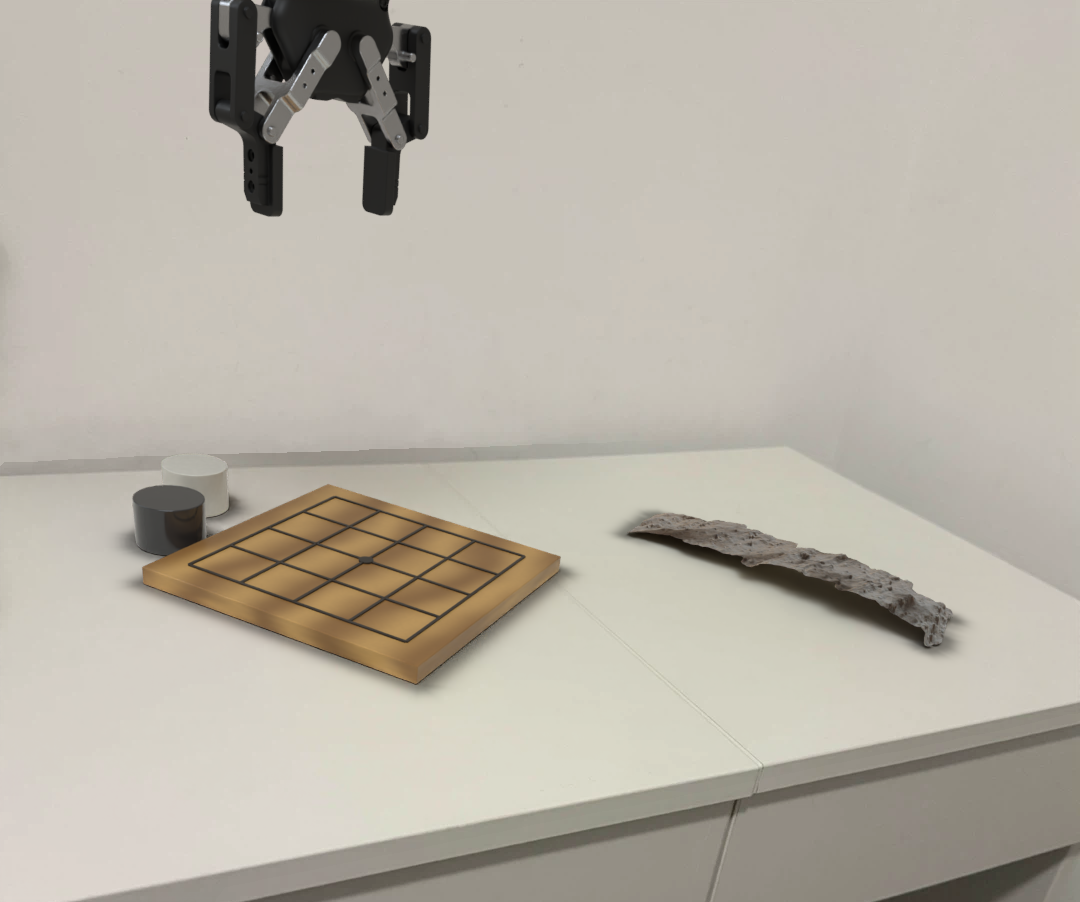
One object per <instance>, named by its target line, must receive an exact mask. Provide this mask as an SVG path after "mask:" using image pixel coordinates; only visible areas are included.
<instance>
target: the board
mask: <svg viewBox="0 0 1080 902" xmlns="http://www.w3.org/2000/svg"><path fill="white" fill-rule="evenodd" d="M561 558H562V557H561V555H558V554H554V553H551V552H547V551H544V550H541V549H538V548H534V547H532V546H529V545H525V544H522V543H519V542H516V541H512V540H509V539H506V538H502V537H499V536H496V535H493V534H490V533H487V532H483V531H480V530H477V529H474V528H471V527H467V526H464V525H461V524H458V523H456V522H455V523H454V522H452V521H448V520H446V519H442V518H438V517H435V516H433V515H429V514H426V513H423V512H420V511H416V510H414V509H410V508H406V507H403V506H400V505H397V504H394V503H390V502H387V501H384V500H381V499H378V498H375V497H371V496H368V495H365V494H362V493H359V492H355V491H353V490H349V489H346V488H342V487H339V486H337V485H333V484H329V483H327V484H325V485H323V486H321V487H318V488H316V489H314V490H311V491H310V492H307V493H305V494H303V495H300V496H298V497H296V498H293V499H291V500H289V501H287V502H284V503H282V504H280V505H278V506H276V507H273V508H270V509H268V510H267V511H264V512H261V513H260V514H258V515H255V516H253V517H251V518H248V519H247V520H244V521H241V522H240V523H237V524H235V525H233V526H231V527H228V528H226V529H223V530H222V531H219V532H217V533H215V534H213V535H211V536H208V537H207V538H206V539H204V540H201V541H199V542H197V543H195V544H192V545H190V546H188V547H186V548H183V549H181V550H179V551H177V552H174V553H172V554H170V555H168V556H167V555H164V556H163V557H161V558H159V559H157V560H155V561H152V562H150V563H147V564H145V565H142V566H141V570H142V583H143V584H144V585H146V586H149V587H151V588H154V589H157V590H160V591H162V592H165V593H168V594H170V595H173V596H175V597H179V598H181V599H184V600H186V601H190V602H192V603H195V604H198V605H200V606H203V607H206V608H208V609H211V610H214V611H216V612H219V613H222V614H224V615H227V616H230V617H232V618H235V619H239V620H241V621H244V622H246V623H249V624H252V625H255V626H257V627H260V628H263V629H266V630H268V631H271V632H272V633H276V634H279V635H282V636H285V637H287V638H290V639H292V640H295V641H298V642H300V643H303V644H307V645H309V646H311V647H315V648H316V649H320V650H322V651H324V652H328V653H331V654H333V655H336V656H339V657H342V658H344V659H347V660H349V661H352V662H355V663H358V664H359V665H360V664H361V665H363V666H366V667H369V668H371V669H374V670H376V671H380V672H382V673H385V674H388V675H391V676H393V677H395V678H399V679H401V680H403V681H405V682H409V683H412V684H415V685H417V684H419V683H420V682H421V681H422V680H423V679H425V678H426V677H428V675H430V674H431V673H432V672H434V670H436V669H437V668H438V667H440V666H441V665H442V664H444V663H445V662H446V661H448V659H450V658H451V657H453V656H454V655H455V654H456V653H458V651H460V650H462V649H463V648H464V647H465V646H466V645H468V644H469V643H470V642H471V641H473V640H474V639H475V638H476V637H478V636H479V635H480V634H481V633H483V632H484V631H485V630H487V629H488V628H489V627H490V626H491V625H493V624H494V623H495V622H496V621H498V620H499V619H501V618H502V617H503V616H504V615H506V613H508V612H509V611H511V610H512V609H513V608H514V607H515V606H516V605H518V604H519V603H520V602H522V601H523V600H524V599H525V598H527V597H528V596H529V595H531V594H532V593H533V592H534V591H536V590H537V589H538V588H539V587H541V586H542V585H543V584H544V583H546V582H547V581H548V580H549V579H551V578H552V577H553V576H555V575H556V574H557V573H558V572H559V571H560V565H561V560H562V559H561Z"/></svg>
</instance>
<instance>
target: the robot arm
mask: <svg viewBox="0 0 1080 902" xmlns="http://www.w3.org/2000/svg"><path fill="white" fill-rule="evenodd" d="M390 1H391V0H262V1H261V4H257V3H255V1H253V0H211V1H210V15H209V16H210V20H209V21H210V22H209V23H210V24H209V26H210V27H209V70H208V71H209V74H208V77H209V78H208V113H209V116H210V118H211V120H213V121H214V122H215V123H218V124H222V125H224V126H226V127H228V128H230V129H231V130H234V131H235V132H237V134H239V136H240V138H241V140H242V145H243V146H242V150H243V151H242V154H243V155H242V156H243V157H242V158H243V161H242V162H243V163H242V164H243V165H242V166H243V193H244V197H245V200H246V202H248V203H249V204H250V205H249V206H250V209H251V210H252V211H253V213H256V214H259V215H262V216H265V217H268V218H270V217H272V218H274V217H276V218H278V217H281V216H282V215H283V211H284V146H282V145H278V144H277V142H279V140H280V139H281V137H282V135H283V133H284V131H285V130H286V128H287V127H288V125H289V123H290V121H291V119H292V117H293V116H294V115H295V114H296V113H299V112H300V111H302V110H303V109H304V108H305V107H306V104H307V103H308V101H309V99H310V100H314V101H324V102H328V101H331V100H333V101H338V102H342V103H345V104H346V106H347V108H348V110H350V111H351V112H352V113H353V114H354V115H355V116H356V119H357V121H358V122H359V124H360V126H361V129H362V131H363V133H364V135H365V137H366V140H367V141H368V142H369V143H370V145H366V144H365V145H364V147H363V152H364V153H363V172H362V193H361V194H362V198H361V205H362V208H363V210H364V212H367V213H369V214H374V215H377V216H380V217H381V216H382V217H384V216H387V217H388V216H391V215H393V213H394V207H395V206H396V204H397V201H398V198H399V185H400V181H399V179H400V168H401V167H400V166H401V154H402V150H403V149H404V148H405V147H406V146H407V144H408V143H410V142H413V141H415V140H420V141H422V140H425V139H426V137H428V134H429V129H430V127H429V126H430V95H431V93H430V92H431V62H432V61H431V60H432V59H431V58H432V55H431V54H432V34H431V30H430V29H429V28H428V27H427V26H423V25H416V24H410V23H403V22H398V21H397V22H394V23H391V19H390V14H389V4H390ZM263 41H265V43H266V45H267V47H268V49H269V52H268V54H267V56H266V58H265V60H264V61H263V63H262V64H261V66H260V68H259V70H258V72H257V73H256V71H257V69H256V68H257V48H258V47H259V46H260V44H261V43H262V42H263ZM386 59H387V60H388V75H387V73H386V70H385V69H384V66H383V64H384V62H385V60H386Z"/></svg>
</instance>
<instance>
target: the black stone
mask: <svg viewBox="0 0 1080 902" xmlns="http://www.w3.org/2000/svg"><path fill="white" fill-rule="evenodd" d="M131 499H132V512H133V513H132V514H133V525H134V536H135V537H134V538H135V544H136V546H137V547H138V548H139V549H141V550H142V551H144V552H147V553H150V554H153V555H159V556H168V555H170V554H172V553H174V552H177V551H179V550H181V549H183V548H186V547H188V546H190V545H192V544H195V543H197V542H199V541H201V540H204V539H206V538H208V537H207V536H208V535H207V517H206V508H205V497H204V495H203V494H202V493H200V492H199V491H197V490H194V489H191V488H188V487H183V486H175V485H162V484H159V485H151V486H147V487H144V488H141V489H139V490H137V491H135V492H134V493H133V495H132V497H131Z"/></svg>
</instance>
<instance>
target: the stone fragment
mask: <svg viewBox="0 0 1080 902" xmlns="http://www.w3.org/2000/svg"><path fill="white" fill-rule="evenodd" d="M626 533H627V534H628V533H629V534H630V533H650V534H656V535H663V536H671V537H673V538H675V539H680V540H682V542H683V543H686V544H690V545H693V546H695V545H696V546H700V547H702V548H703V547H706V548H710V549H712V550H715V551H717V552H720V553H721V554H726V555H731V556H739V557H742V559H741V561H740V562H741V564H742V565H744V566H746V567H750V568H753V567H756V566H760V565H773V566H781V567H785V568H787V569H791V570H792V569H793V570H795V571H797V572H799V573H803V576H805V577H809V578H810V577H811V578H815V579H819V580H822V581H828V582H830V583H835V584H834V588H835V589H836V590H838V591H841V592H843V591H847V592H851V593H854V594H856V595H857V594H858V595H859V596H861V597H863V598H866V599H869V600H873V601H876V603H878V604H879V606H880V607H883V608H885V609H887V610H888V612H889V613H890V614H893V615H895V616H897V617H898V618H899V619H901V620H904V621H905V622H907V623H908V624H910V625H912V626H914V627H917V628H921V629H922V631H923V632H924V636H923V645H924V646H925V647H926V648H927V647H929V648H932V647H934V646H938V645H940V644H942V642H943V641H944V640H943V639H944V635H945V631H946V628H947V623H948V618H949V619H951V616H952V618H953V615H954V613H953V610H952V609H950V608H948V607H947V606H946V604H945V603H944V602H942V601H935V600H934V599H932V598H931V597H927V596H925V595H923V594H921V593H918V592H917V591H915V589H913V587H914V583H913V582H912V581H910V580H908V579H902V578H901V577H899V576H896V575H894V574H891V573H890V572H888V571H886V570H884V569H876V568H870V566H869V565H867V564H866V563H862V562H861V561H859V560H858V559H855V558H852V557H848V556H847V554H845V553H828V552H821V550H818V549H816V548H813V547H798V545H799V543H797V542H794V541H791V540H785V539H781V538H777V537H775V536H773V535H771V534H767V533H763V531H761V530H758V529H754V528H753V529H751V528H748V525H746V524H744V523H740V522H739V523H738V522H733V521H726V520H720V519H713V520H709V521H707V520H705V519H702V518H700V517H695V516H691V515H687V514H685V513H674V512H664V513H655V514H654V515H652V516H650V517H649V518H646V519H644V520H642V522H641V523H640V524H639V525H638V526H637V525H636V526H634V527H633V528H632V529H630V530H629V531H627V532H626Z"/></svg>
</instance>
